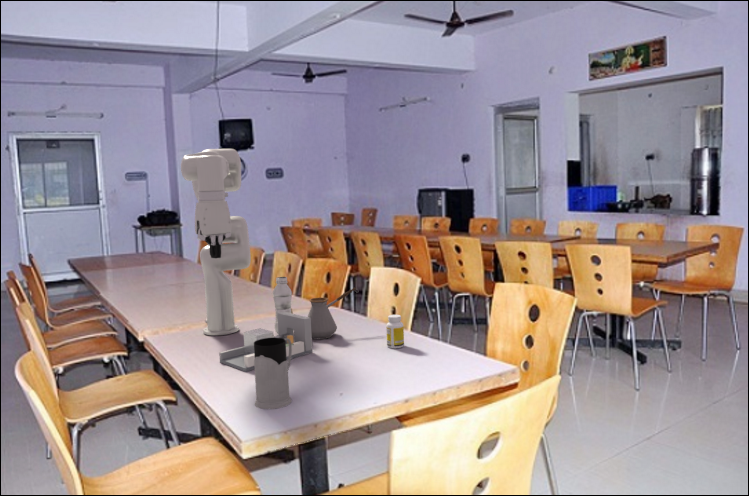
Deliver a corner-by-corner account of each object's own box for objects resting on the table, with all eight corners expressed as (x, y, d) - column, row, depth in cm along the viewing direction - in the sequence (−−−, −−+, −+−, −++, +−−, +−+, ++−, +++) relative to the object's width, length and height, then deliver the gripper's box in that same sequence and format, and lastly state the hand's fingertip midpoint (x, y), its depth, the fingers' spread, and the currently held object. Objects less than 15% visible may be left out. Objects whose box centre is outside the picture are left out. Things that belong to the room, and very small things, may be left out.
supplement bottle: (406, 344, 191) (405, 314, 190) (400, 349, 186) (399, 318, 185) (391, 343, 193) (390, 313, 192) (384, 348, 188) (383, 317, 187)
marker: (287, 343, 181) (287, 335, 181) (290, 342, 182) (290, 335, 182) (290, 343, 180) (289, 336, 180) (293, 342, 181) (293, 335, 181)
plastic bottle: (290, 336, 206) (287, 279, 203) (272, 336, 207) (268, 279, 205) (297, 332, 212) (294, 276, 210) (278, 331, 213) (275, 276, 211)
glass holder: (247, 407, 143) (243, 345, 141) (277, 387, 156) (274, 330, 154) (280, 410, 139) (276, 347, 138) (308, 390, 153) (305, 332, 151)
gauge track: (219, 362, 179) (217, 326, 178) (285, 344, 196) (283, 311, 195) (245, 371, 169) (243, 333, 168) (312, 352, 186) (310, 317, 185)
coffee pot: (313, 342, 197) (311, 297, 196) (297, 336, 207) (295, 293, 205) (367, 331, 209) (366, 289, 207) (350, 325, 219) (348, 285, 217)
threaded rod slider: (244, 354, 182) (243, 332, 181) (282, 344, 191) (281, 323, 191) (265, 361, 174) (264, 338, 173) (304, 350, 184) (302, 328, 183)
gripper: (227, 195, 188) (230, 253, 190) (182, 198, 177) (187, 259, 180) (240, 195, 183) (243, 255, 185) (195, 198, 172) (199, 262, 174)
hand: (215, 257), depth 182 cm, fingers closed
